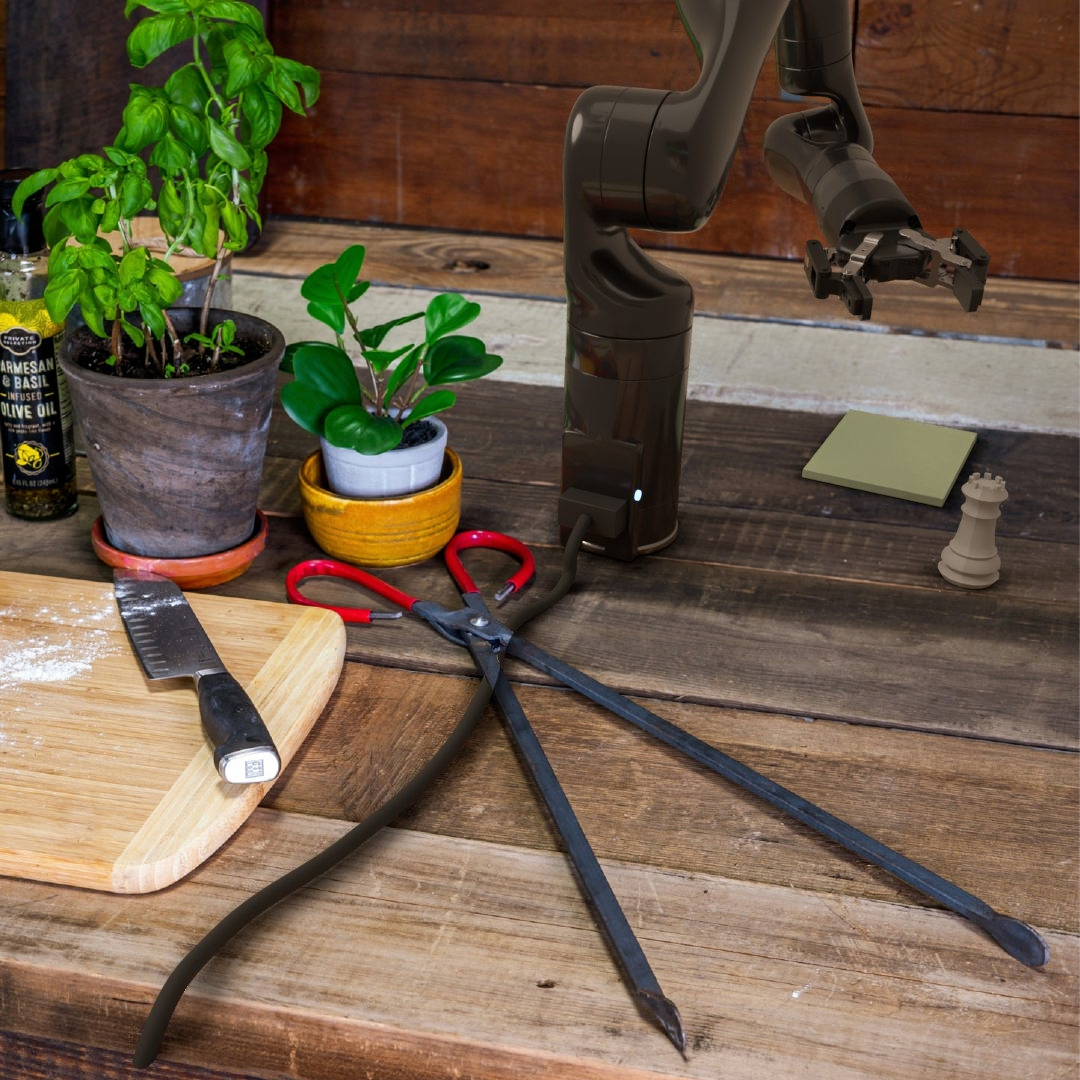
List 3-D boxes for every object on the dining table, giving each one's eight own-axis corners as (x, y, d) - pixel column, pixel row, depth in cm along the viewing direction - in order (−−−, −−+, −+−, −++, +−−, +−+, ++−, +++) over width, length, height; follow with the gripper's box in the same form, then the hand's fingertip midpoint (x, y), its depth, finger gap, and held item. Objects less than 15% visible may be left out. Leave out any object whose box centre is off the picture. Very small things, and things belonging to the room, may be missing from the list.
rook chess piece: (989, 597, 91) (1011, 498, 88) (928, 580, 94) (947, 483, 90) (1005, 572, 95) (1026, 476, 91) (946, 556, 97) (964, 461, 93)
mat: (942, 507, 104) (943, 498, 104) (801, 477, 109) (802, 469, 109) (976, 440, 117) (977, 433, 117) (849, 416, 122) (850, 408, 121)
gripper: (787, 183, 109) (836, 270, 96) (950, 170, 109) (1020, 255, 96) (781, 262, 113) (827, 355, 101) (936, 249, 114) (1001, 340, 101)
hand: (921, 306), depth 99 cm, fingers open, 8 cm apart
